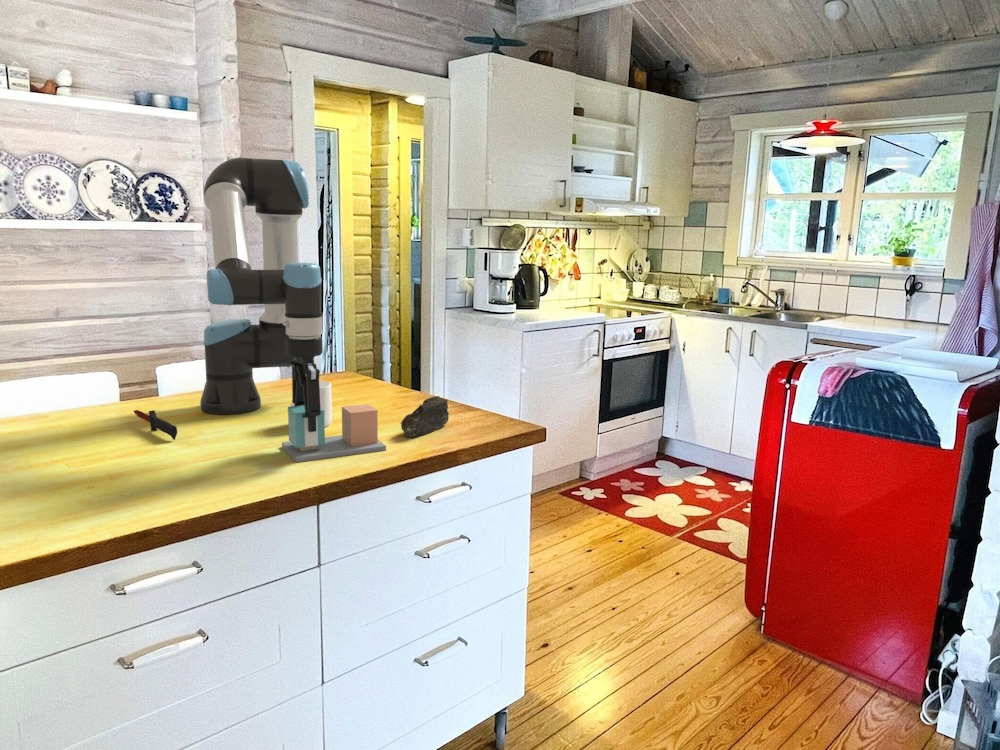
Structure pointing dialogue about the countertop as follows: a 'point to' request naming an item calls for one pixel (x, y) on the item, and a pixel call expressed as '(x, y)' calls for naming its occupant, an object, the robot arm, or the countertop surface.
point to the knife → (158, 423)
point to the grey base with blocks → (344, 437)
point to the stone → (426, 417)
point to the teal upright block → (298, 426)
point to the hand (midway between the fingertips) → (307, 440)
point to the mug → (325, 401)
